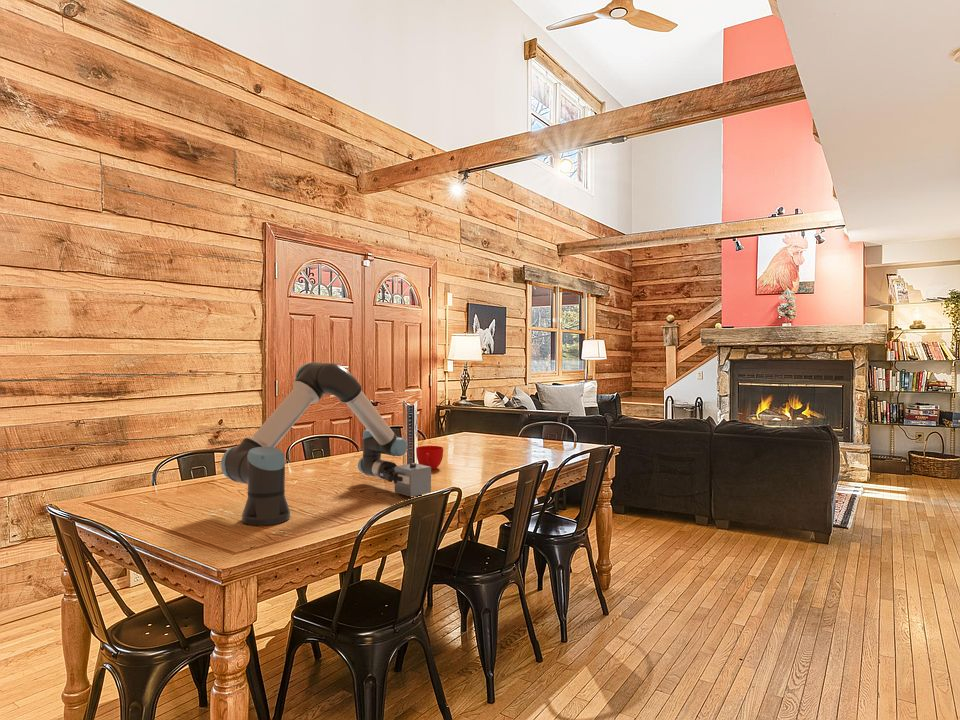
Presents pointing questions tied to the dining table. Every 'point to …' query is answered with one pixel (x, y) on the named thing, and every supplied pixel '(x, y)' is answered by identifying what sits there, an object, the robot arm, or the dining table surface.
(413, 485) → the metal cover
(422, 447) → the ceramic cup
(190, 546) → the dining table surface
